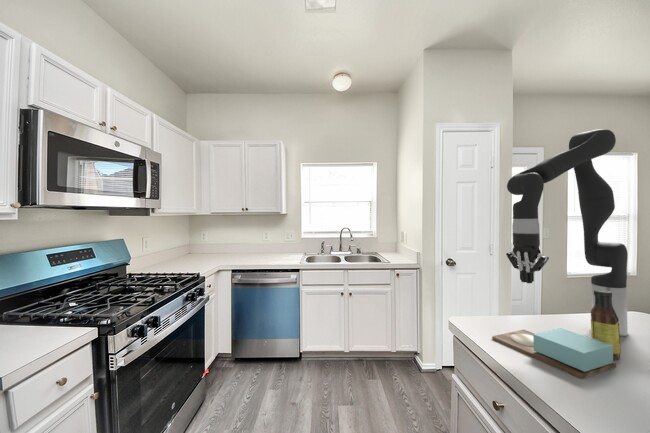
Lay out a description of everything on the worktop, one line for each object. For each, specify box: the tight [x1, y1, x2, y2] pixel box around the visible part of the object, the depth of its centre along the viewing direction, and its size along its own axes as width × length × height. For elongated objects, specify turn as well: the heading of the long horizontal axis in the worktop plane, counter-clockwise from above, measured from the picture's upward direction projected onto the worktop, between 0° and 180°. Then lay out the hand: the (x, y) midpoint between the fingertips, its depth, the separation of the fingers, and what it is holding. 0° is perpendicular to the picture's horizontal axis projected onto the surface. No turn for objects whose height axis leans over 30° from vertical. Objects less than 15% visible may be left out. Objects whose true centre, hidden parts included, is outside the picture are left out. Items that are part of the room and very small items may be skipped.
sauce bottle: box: [590, 290, 622, 360], centre depth 85 cm, size 7×6×20 cm
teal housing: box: [533, 327, 614, 372], centre depth 82 cm, size 13×13×5 cm
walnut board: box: [491, 329, 617, 379], centre depth 88 cm, size 16×26×1 cm, turn 20°
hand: (526, 282), depth 94 cm, fingers closed
